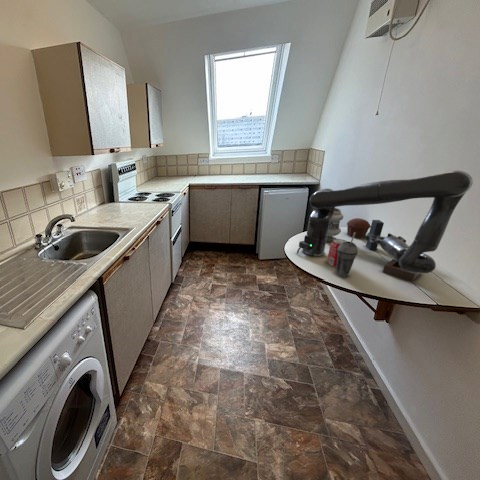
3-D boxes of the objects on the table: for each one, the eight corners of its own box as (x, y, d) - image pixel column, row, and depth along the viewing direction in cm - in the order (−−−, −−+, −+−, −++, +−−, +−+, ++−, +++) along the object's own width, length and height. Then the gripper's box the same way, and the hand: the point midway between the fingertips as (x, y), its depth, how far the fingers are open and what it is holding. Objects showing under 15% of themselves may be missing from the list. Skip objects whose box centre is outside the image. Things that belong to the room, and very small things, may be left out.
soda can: (345, 264, 126) (351, 240, 121) (341, 269, 121) (347, 245, 117) (328, 260, 131) (333, 237, 126) (324, 265, 126) (329, 241, 122)
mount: (412, 281, 110) (415, 274, 108) (382, 272, 118) (384, 265, 116) (420, 273, 115) (422, 266, 114) (390, 265, 123) (393, 258, 122)
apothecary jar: (310, 236, 160) (315, 207, 154) (329, 234, 161) (335, 205, 154) (323, 243, 149) (329, 212, 142) (343, 242, 150) (350, 211, 143)
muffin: (339, 233, 162) (343, 217, 158) (353, 230, 165) (357, 215, 161) (358, 240, 152) (362, 223, 148) (372, 237, 155) (377, 220, 151)
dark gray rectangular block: (369, 249, 139) (377, 222, 134) (365, 246, 144) (372, 219, 138) (376, 250, 138) (384, 223, 133) (371, 246, 143) (379, 220, 137)
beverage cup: (328, 270, 121) (337, 229, 113) (345, 270, 120) (356, 229, 113) (337, 278, 114) (347, 235, 107) (355, 279, 113) (366, 235, 106)
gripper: (416, 240, 117) (397, 228, 131) (378, 238, 121) (363, 227, 135) (411, 255, 120) (393, 242, 134) (374, 253, 123) (360, 240, 138)
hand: (378, 234), depth 134 cm, fingers open, 8 cm apart
